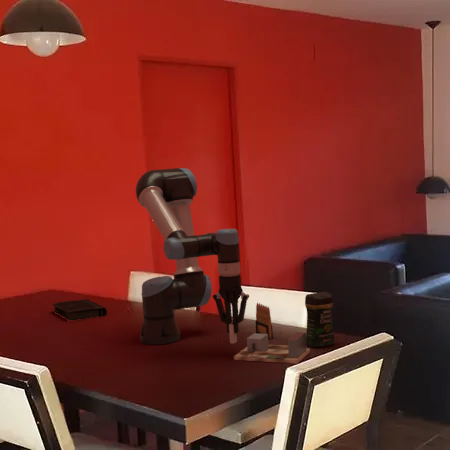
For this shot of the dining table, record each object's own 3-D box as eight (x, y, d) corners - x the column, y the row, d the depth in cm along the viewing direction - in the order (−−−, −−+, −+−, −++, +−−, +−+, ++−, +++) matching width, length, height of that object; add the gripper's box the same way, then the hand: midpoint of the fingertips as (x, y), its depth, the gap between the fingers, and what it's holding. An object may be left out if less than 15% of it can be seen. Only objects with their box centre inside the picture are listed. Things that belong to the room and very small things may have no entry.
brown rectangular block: (288, 357, 241) (287, 339, 240) (297, 349, 250) (297, 332, 249) (297, 358, 240) (296, 340, 239) (306, 350, 249) (305, 332, 248)
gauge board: (233, 359, 246) (233, 352, 246) (249, 348, 259) (249, 341, 259) (297, 364, 238) (296, 356, 237) (309, 352, 251) (309, 345, 250)
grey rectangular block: (243, 356, 245) (242, 341, 244) (254, 347, 255) (254, 333, 254) (257, 357, 243) (256, 342, 242) (268, 348, 253) (267, 334, 252)
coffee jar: (316, 349, 254) (313, 296, 252) (302, 344, 261) (300, 293, 259) (338, 344, 258) (336, 292, 256) (325, 340, 265) (323, 289, 263)
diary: (89, 308, 349) (88, 298, 349) (107, 317, 327) (106, 306, 327) (50, 313, 340) (49, 303, 340) (66, 323, 318) (65, 311, 318)
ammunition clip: (273, 338, 272) (271, 306, 270) (268, 339, 271) (267, 307, 270) (260, 332, 281) (258, 301, 280) (255, 333, 281) (254, 302, 280)
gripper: (207, 276, 251) (211, 344, 253) (243, 276, 245) (247, 346, 248) (216, 272, 257) (220, 338, 260) (251, 272, 252) (255, 340, 254)
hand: (233, 342), depth 254 cm, fingers closed
